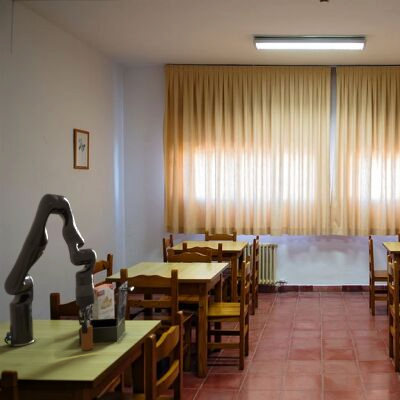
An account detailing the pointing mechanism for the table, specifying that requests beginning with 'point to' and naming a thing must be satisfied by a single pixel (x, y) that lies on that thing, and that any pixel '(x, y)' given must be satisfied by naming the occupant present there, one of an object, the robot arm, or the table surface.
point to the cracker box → (103, 302)
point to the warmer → (106, 330)
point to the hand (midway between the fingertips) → (86, 331)
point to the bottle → (87, 338)
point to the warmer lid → (122, 302)
